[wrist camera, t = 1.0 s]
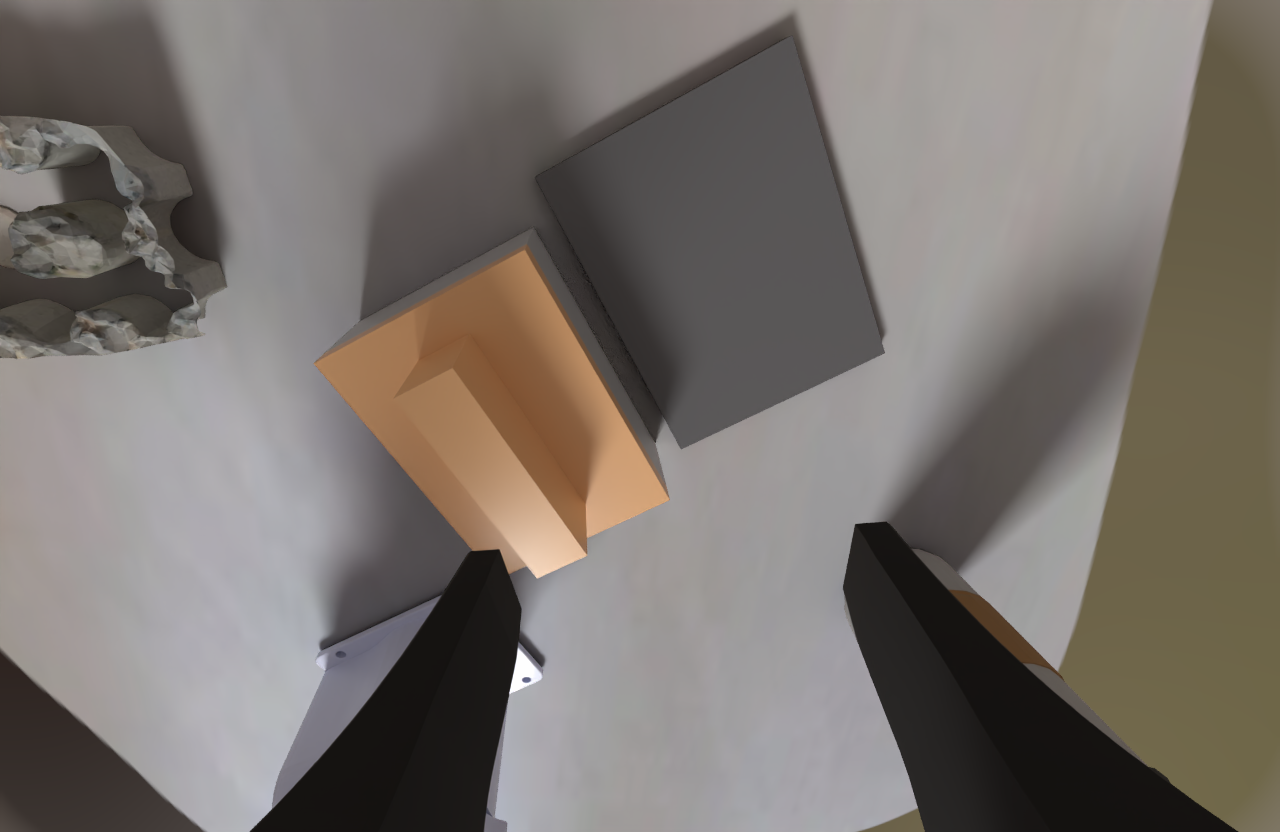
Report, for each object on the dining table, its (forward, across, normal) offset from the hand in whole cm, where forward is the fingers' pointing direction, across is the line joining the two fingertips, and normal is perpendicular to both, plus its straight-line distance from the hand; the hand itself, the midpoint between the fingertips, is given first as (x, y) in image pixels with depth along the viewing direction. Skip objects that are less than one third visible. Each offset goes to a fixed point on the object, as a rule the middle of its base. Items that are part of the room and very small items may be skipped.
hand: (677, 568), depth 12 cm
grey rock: (+13, +21, -5) cm, 25 cm away
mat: (+15, -3, 0) cm, 15 cm away
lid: (+10, +6, +3) cm, 12 cm away
